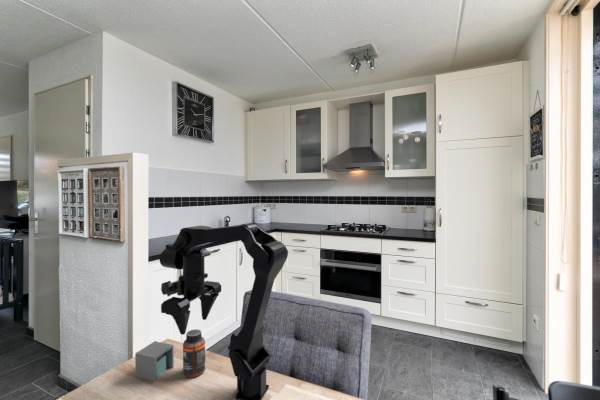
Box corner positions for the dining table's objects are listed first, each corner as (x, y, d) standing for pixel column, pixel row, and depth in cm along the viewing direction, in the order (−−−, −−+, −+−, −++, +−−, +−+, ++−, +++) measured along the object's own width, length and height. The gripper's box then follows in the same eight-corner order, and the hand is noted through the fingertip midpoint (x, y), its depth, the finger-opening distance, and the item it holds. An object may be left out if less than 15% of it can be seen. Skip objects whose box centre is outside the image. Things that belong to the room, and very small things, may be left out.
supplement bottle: (209, 366, 85) (208, 327, 84) (200, 379, 79) (199, 338, 78) (189, 364, 85) (189, 326, 85) (179, 377, 79) (178, 337, 79)
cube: (166, 369, 83) (166, 355, 83) (155, 377, 79) (155, 363, 79) (155, 366, 85) (154, 353, 84) (143, 375, 81) (143, 360, 81)
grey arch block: (173, 367, 84) (173, 345, 84) (155, 381, 78) (155, 357, 77) (155, 362, 86) (154, 341, 86) (135, 376, 80) (135, 353, 80)
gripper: (191, 261, 92) (192, 309, 93) (143, 278, 75) (144, 337, 75) (222, 264, 89) (222, 314, 89) (179, 282, 71) (179, 345, 72)
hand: (194, 326), depth 82 cm, fingers open, 9 cm apart
